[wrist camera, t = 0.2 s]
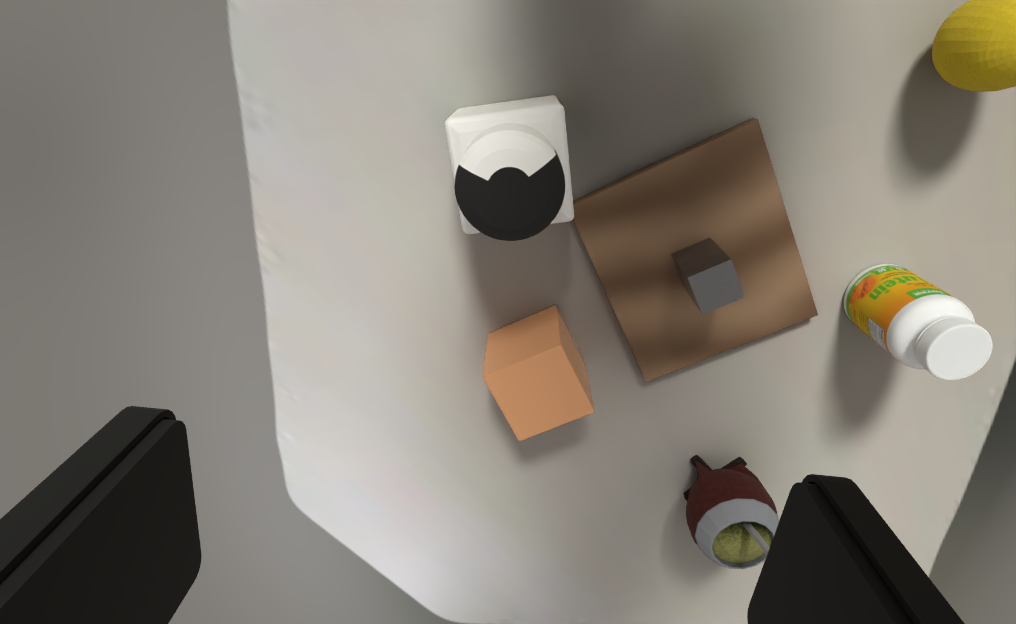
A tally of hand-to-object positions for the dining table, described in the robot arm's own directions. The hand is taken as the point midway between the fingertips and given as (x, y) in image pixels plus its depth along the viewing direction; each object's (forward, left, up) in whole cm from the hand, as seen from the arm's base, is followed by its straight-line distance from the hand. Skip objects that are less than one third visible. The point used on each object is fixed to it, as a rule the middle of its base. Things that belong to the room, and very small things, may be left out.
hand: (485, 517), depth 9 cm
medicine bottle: (0, 0, -37) cm, 37 cm away
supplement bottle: (+22, +21, -37) cm, 48 cm away
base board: (+13, +9, -37) cm, 40 cm away
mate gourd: (+33, +4, -37) cm, 50 cm away
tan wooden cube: (+15, -5, -37) cm, 40 cm away
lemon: (+6, +29, -37) cm, 47 cm away
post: (+13, +9, -37) cm, 40 cm away
